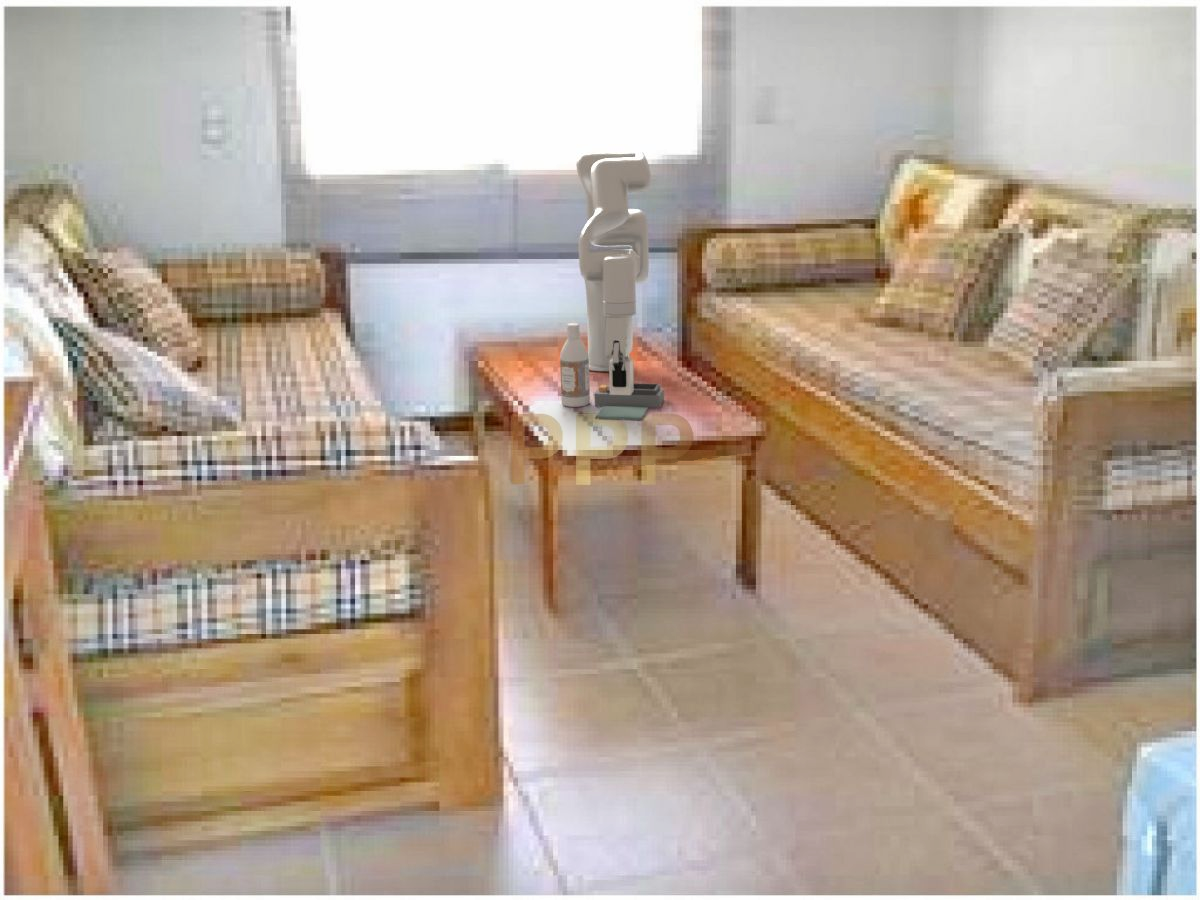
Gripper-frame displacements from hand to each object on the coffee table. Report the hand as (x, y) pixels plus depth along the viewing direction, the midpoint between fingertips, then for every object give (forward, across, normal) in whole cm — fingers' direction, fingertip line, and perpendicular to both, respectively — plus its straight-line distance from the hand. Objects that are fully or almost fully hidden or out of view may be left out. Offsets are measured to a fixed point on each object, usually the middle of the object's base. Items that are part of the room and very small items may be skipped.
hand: (621, 383), depth 327 cm
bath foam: (+8, -8, -13) cm, 17 cm away
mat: (+8, 0, 0) cm, 8 cm away
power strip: (+7, -10, 0) cm, 13 cm away
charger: (+2, 0, 0) cm, 2 cm away
